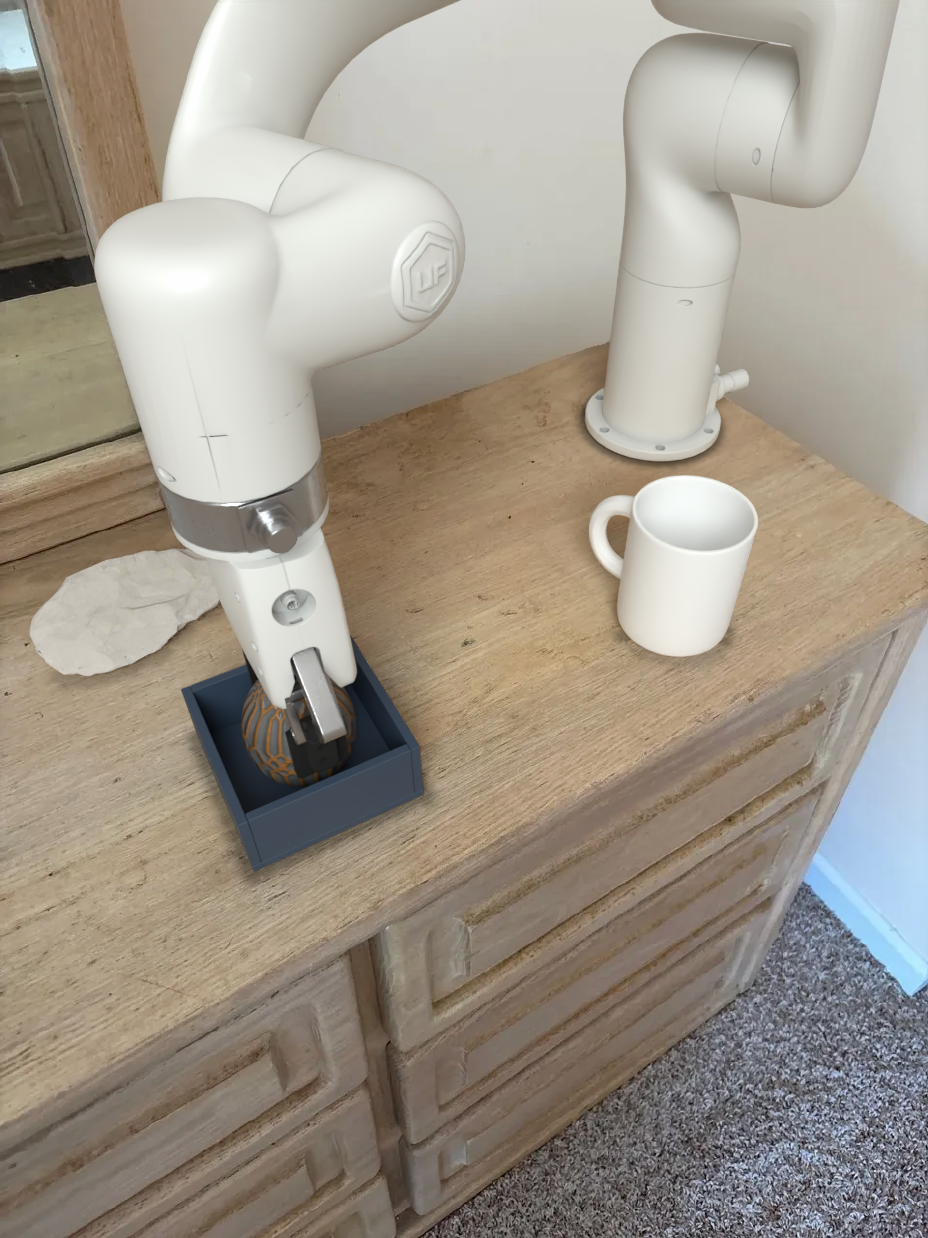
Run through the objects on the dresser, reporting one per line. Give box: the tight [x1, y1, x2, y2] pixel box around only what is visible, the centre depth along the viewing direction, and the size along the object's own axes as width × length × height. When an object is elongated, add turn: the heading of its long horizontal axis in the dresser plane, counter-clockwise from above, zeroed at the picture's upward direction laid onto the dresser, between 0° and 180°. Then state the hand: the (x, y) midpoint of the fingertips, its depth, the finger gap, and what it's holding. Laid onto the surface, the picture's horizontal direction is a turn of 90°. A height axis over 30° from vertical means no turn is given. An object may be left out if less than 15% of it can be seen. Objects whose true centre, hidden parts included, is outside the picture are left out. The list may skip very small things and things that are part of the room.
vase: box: [241, 675, 356, 787], centre depth 55 cm, size 7×7×9 cm
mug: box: [588, 474, 759, 658], centre depth 65 cm, size 12×8×10 cm
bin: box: [180, 634, 425, 873], centre depth 57 cm, size 11×11×5 cm
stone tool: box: [29, 547, 221, 677], centre depth 67 cm, size 9×3×15 cm
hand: (298, 719), depth 55 cm, fingers closed on vase, 6 cm apart
